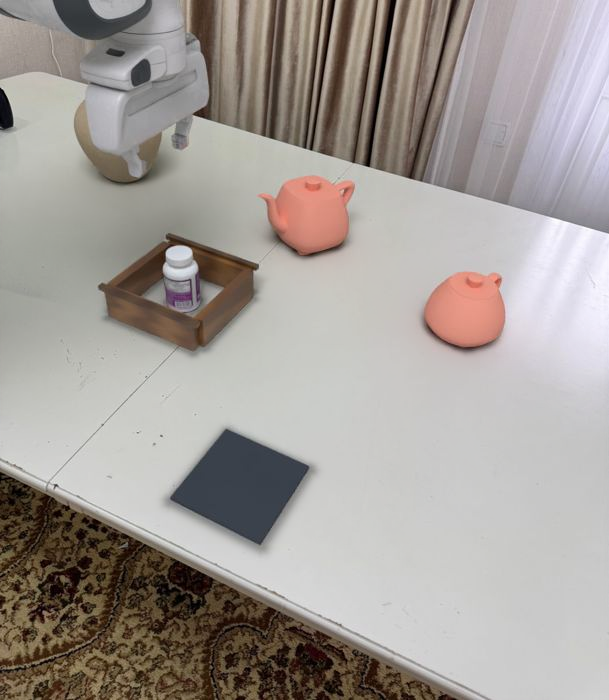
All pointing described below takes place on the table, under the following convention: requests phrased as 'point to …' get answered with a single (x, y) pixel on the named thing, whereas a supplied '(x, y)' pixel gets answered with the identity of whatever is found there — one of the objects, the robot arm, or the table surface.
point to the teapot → (310, 213)
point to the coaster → (241, 485)
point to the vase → (107, 162)
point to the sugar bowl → (467, 309)
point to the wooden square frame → (170, 322)
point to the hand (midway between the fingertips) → (160, 160)
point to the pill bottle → (181, 279)
